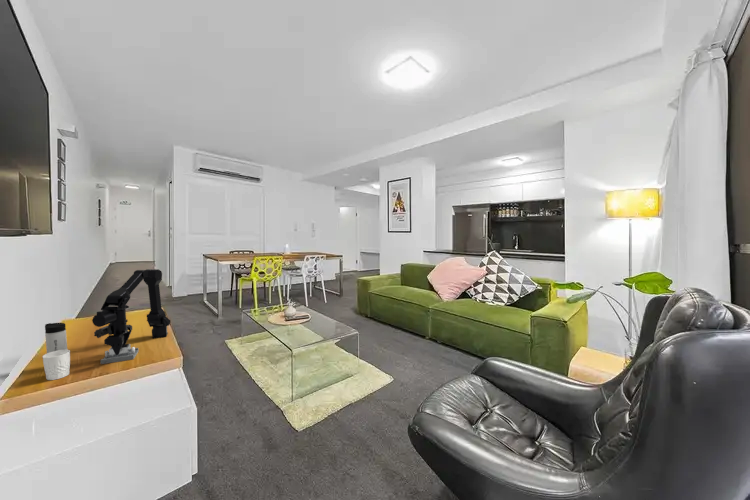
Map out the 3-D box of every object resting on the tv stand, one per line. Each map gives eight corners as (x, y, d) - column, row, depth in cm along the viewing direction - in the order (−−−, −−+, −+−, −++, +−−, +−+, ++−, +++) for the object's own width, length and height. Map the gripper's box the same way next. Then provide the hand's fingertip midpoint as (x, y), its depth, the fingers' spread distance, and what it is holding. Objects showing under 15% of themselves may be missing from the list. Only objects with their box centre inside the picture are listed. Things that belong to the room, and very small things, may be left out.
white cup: (75, 373, 127) (74, 351, 126) (50, 382, 119) (49, 358, 119) (65, 370, 129) (63, 348, 129) (39, 378, 122) (38, 355, 121)
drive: (130, 352, 146) (130, 343, 145) (128, 355, 142) (127, 346, 141) (112, 354, 143) (111, 345, 142) (109, 358, 139) (108, 349, 138)
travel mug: (57, 363, 135) (53, 321, 134) (72, 363, 136) (69, 321, 134) (42, 370, 129) (39, 326, 127) (59, 370, 130) (55, 326, 128)
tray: (138, 351, 149) (138, 343, 149) (133, 359, 141) (133, 350, 140) (107, 356, 144) (107, 347, 143) (100, 364, 135) (100, 355, 135)
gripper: (103, 316, 145) (105, 346, 147) (88, 328, 129) (90, 362, 130) (131, 313, 150) (133, 342, 152) (120, 324, 134) (122, 357, 135)
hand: (120, 351), depth 142 cm, fingers open, 9 cm apart
